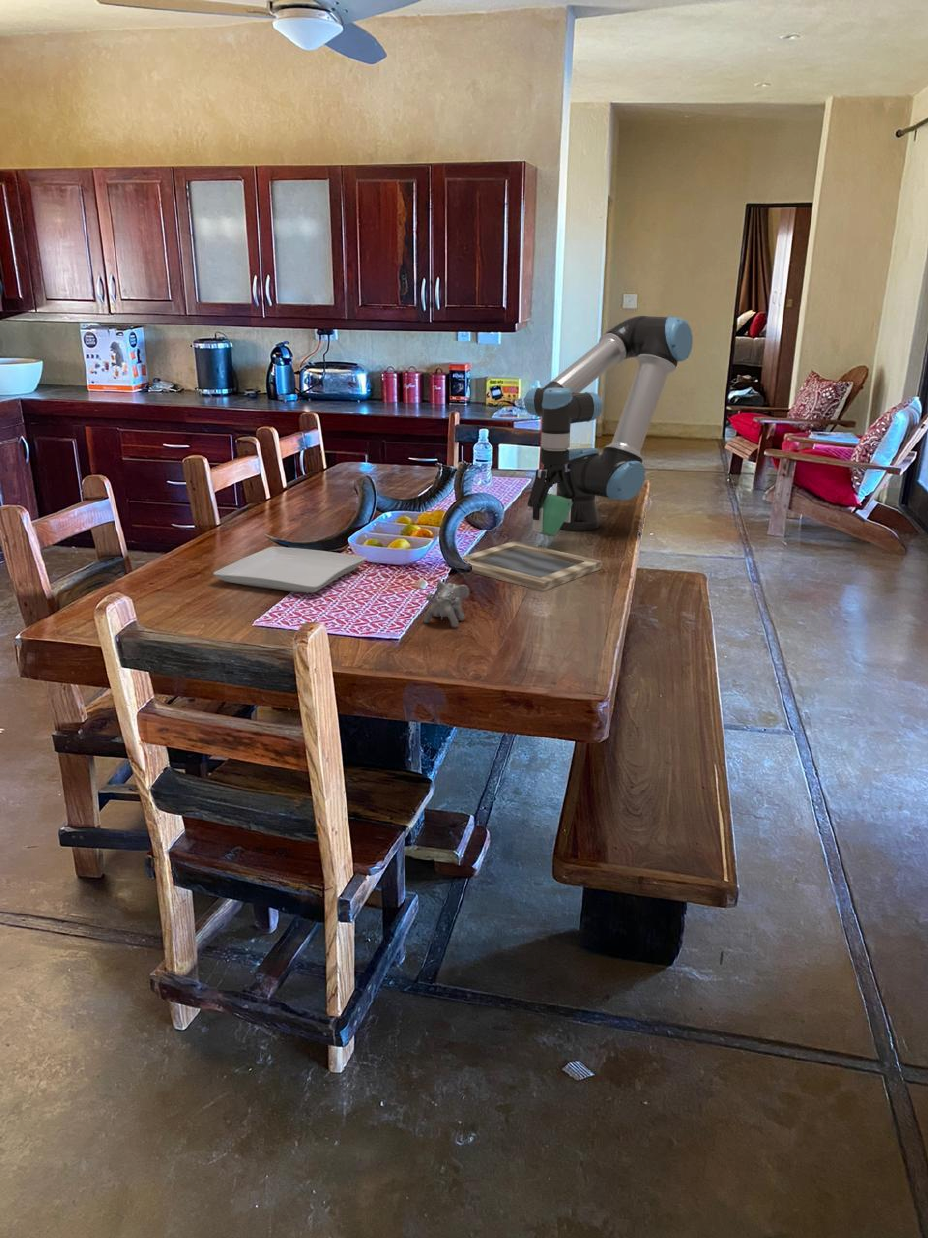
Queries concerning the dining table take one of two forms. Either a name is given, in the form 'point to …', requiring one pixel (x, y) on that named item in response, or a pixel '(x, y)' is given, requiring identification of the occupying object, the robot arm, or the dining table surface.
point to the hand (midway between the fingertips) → (551, 526)
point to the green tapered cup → (554, 513)
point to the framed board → (530, 565)
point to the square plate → (290, 569)
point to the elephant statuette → (447, 602)
